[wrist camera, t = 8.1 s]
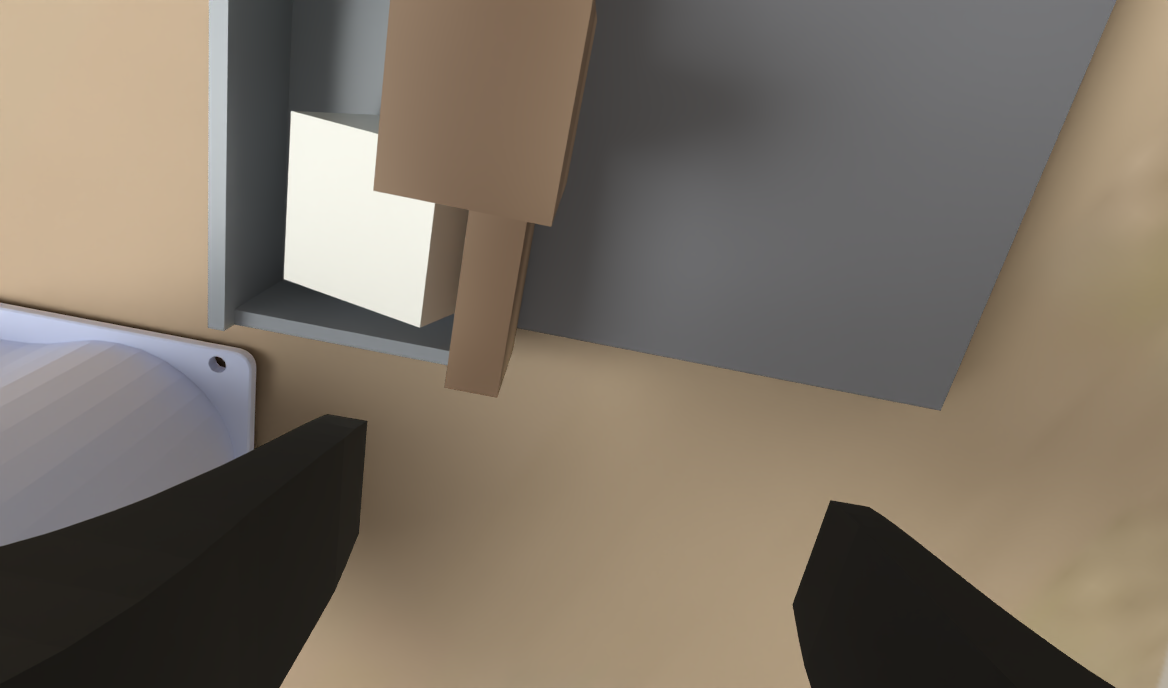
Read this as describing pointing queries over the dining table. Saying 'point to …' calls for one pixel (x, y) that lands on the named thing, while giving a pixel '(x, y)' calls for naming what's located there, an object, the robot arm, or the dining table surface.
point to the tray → (261, 162)
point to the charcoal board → (805, 181)
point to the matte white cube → (365, 225)
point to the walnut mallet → (484, 145)
